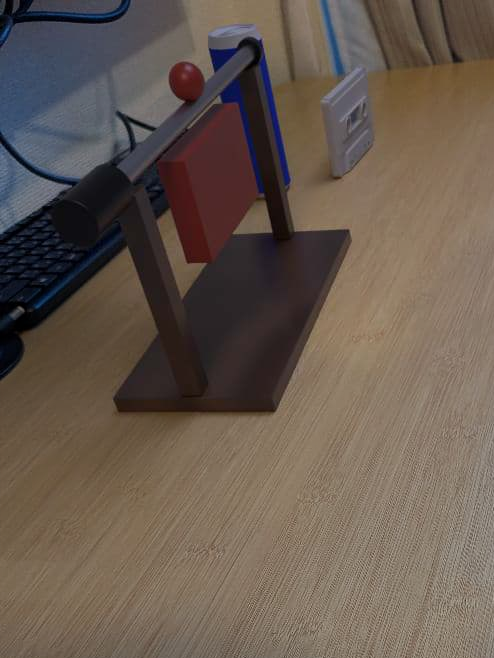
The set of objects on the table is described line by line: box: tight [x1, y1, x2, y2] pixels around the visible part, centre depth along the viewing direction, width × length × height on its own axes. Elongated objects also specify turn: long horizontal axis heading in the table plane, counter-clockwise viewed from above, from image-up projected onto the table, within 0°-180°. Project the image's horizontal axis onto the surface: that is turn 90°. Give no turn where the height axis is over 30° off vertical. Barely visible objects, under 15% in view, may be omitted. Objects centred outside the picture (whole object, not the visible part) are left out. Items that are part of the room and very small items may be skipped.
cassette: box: [320, 66, 375, 178], centre depth 89 cm, size 12×2×8 cm, turn 162°
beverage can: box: [207, 22, 291, 199], centre depth 83 cm, size 5×5×15 cm
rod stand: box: [112, 64, 352, 413], centre depth 63 cm, size 12×27×15 cm, turn 170°
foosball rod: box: [50, 37, 263, 264], centre depth 57 cm, size 3×33×11 cm, turn 170°
